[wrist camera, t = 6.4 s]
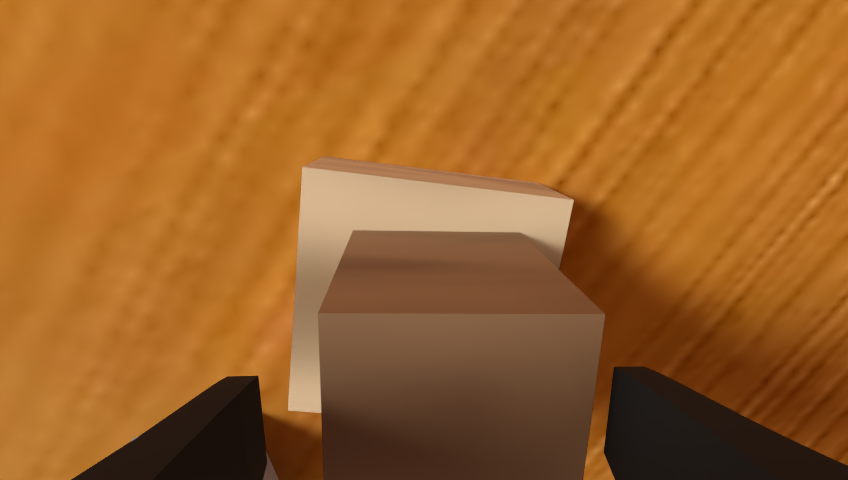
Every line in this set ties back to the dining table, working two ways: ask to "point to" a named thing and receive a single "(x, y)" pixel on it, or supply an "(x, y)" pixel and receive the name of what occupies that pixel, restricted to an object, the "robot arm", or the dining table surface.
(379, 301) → the walnut block
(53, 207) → the dining table surface
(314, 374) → the base block
